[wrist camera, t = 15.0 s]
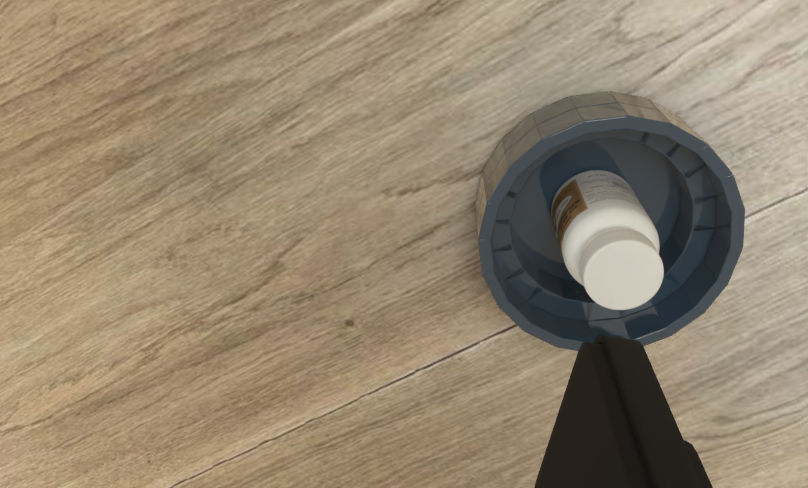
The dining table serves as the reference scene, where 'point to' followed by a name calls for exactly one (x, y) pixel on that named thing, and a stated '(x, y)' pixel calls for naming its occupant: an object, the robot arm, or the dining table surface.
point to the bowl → (655, 189)
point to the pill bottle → (607, 239)
